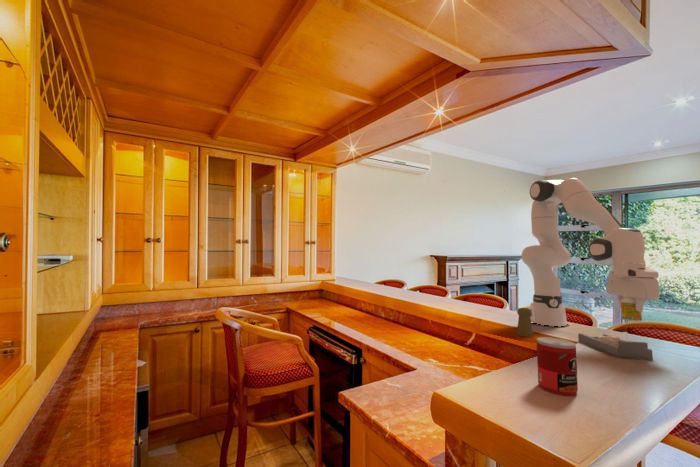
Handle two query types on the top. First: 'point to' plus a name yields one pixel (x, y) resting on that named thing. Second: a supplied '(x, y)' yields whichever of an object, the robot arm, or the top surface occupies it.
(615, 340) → the pale grey block
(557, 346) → the canned food
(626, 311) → the supplement bottle
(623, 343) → the pusher lane
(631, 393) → the top surface
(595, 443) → the top surface
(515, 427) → the top surface
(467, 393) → the top surface
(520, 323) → the cork
